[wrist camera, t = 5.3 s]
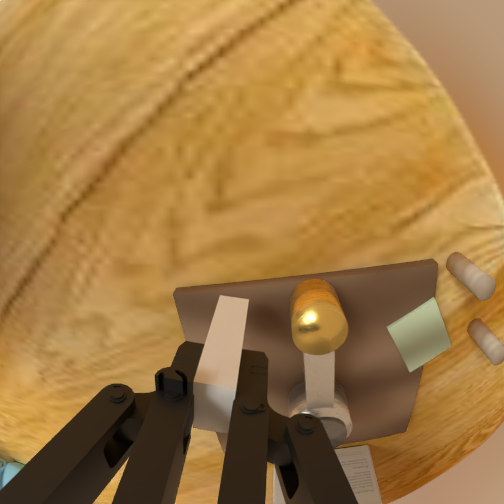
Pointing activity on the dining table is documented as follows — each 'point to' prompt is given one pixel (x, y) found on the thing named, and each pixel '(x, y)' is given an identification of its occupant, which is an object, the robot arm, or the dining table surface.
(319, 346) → the crank handle
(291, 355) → the dial board
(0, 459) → the teapot
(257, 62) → the dining table surface
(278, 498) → the supplement box
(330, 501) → the robot arm
